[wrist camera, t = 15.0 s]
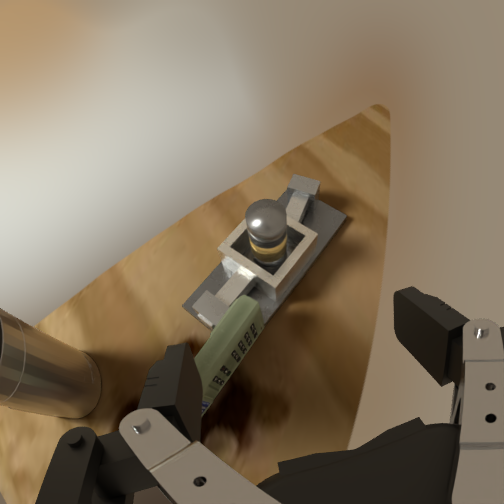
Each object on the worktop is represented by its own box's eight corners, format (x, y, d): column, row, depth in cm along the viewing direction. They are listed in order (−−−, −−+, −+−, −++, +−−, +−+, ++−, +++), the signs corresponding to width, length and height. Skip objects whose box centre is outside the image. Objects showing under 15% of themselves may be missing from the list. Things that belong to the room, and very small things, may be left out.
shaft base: (241, 354, 35) (235, 344, 31) (184, 308, 38) (171, 292, 34) (346, 219, 42) (352, 195, 38) (291, 189, 46) (291, 164, 41)
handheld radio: (270, 326, 37) (147, 492, 28) (246, 312, 38) (126, 473, 29) (265, 306, 31) (119, 501, 22) (237, 289, 32) (96, 478, 23)
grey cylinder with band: (265, 280, 38) (259, 239, 30) (247, 255, 40) (237, 211, 32) (293, 262, 39) (294, 219, 31) (274, 239, 41) (271, 193, 33)
